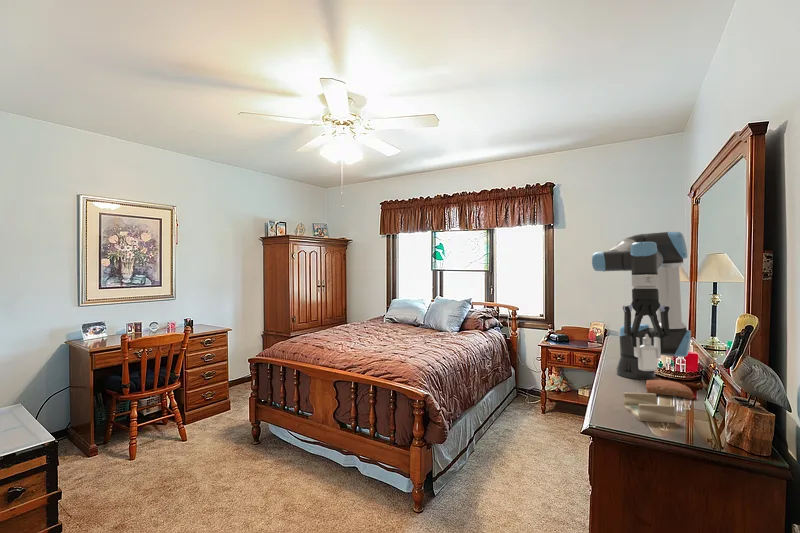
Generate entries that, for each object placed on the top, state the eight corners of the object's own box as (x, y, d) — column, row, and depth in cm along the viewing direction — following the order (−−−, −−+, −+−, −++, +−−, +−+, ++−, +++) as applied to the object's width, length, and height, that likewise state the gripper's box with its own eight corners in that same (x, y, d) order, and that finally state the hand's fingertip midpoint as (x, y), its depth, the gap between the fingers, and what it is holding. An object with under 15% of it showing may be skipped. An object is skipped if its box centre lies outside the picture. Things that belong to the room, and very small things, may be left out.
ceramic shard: (686, 377, 152) (694, 392, 139) (684, 392, 153) (691, 409, 140) (643, 368, 159) (647, 383, 146) (641, 383, 160) (645, 398, 147)
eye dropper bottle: (659, 372, 124) (658, 335, 124) (639, 370, 126) (638, 334, 126) (656, 369, 128) (655, 333, 128) (636, 367, 130) (635, 332, 130)
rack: (624, 406, 134) (623, 392, 134) (655, 408, 132) (654, 393, 132) (640, 421, 121) (639, 405, 121) (675, 422, 119) (674, 406, 119)
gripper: (619, 288, 126) (621, 358, 125) (681, 287, 122) (684, 360, 122) (611, 287, 133) (613, 354, 132) (669, 287, 130) (672, 355, 129)
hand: (647, 356), depth 127 cm, fingers closed on eye dropper bottle, 5 cm apart
